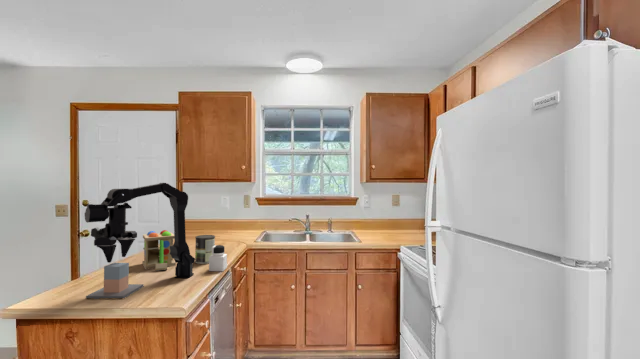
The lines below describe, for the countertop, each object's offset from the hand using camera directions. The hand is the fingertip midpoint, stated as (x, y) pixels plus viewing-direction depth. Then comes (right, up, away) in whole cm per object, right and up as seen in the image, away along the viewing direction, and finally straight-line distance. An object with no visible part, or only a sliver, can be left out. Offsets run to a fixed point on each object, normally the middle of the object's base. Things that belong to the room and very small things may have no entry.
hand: (116, 259), depth 127 cm
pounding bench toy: (-3, -14, +40) cm, 42 cm away
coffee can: (+17, -14, +50) cm, 55 cm away
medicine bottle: (+29, -14, +34) cm, 47 cm away
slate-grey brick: (0, -7, 0) cm, 7 cm away
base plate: (0, -13, 0) cm, 13 cm away
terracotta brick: (0, -12, 0) cm, 12 cm away
